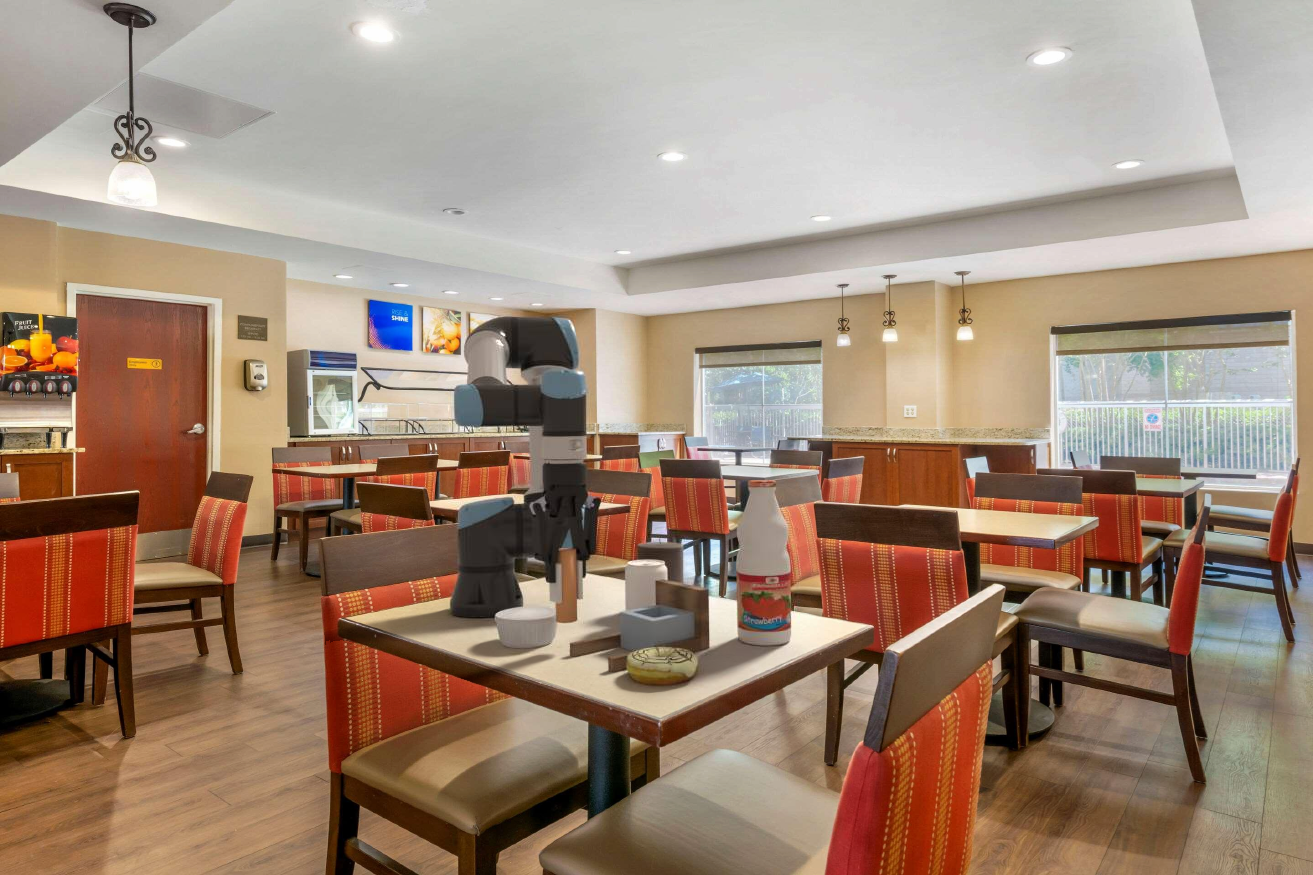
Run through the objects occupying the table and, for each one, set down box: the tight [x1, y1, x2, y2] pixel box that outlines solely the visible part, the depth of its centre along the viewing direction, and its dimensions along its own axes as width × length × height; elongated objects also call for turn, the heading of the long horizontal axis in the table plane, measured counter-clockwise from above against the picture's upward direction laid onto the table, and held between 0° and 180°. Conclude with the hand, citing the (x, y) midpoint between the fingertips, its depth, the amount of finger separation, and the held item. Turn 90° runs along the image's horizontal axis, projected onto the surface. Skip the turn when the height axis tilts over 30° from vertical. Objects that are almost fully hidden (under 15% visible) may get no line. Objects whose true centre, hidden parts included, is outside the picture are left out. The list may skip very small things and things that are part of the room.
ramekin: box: [494, 605, 558, 649], centre depth 134 cm, size 11×11×5 cm
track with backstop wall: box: [569, 579, 711, 673], centre depth 127 cm, size 12×20×10 cm, turn 129°
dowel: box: [555, 548, 578, 624], centre depth 128 cm, size 4×4×12 cm
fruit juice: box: [735, 479, 792, 647], centre depth 133 cm, size 9×9×28 cm
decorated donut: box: [626, 647, 699, 686], centre depth 114 cm, size 10×11×4 cm
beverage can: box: [624, 559, 667, 611], centre depth 145 cm, size 8×8×12 cm
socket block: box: [619, 604, 695, 652], centre depth 129 cm, size 9×9×6 cm
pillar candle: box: [636, 537, 684, 584], centre depth 157 cm, size 10×10×15 cm
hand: (566, 599), depth 128 cm, fingers closed on dowel, 3 cm apart
